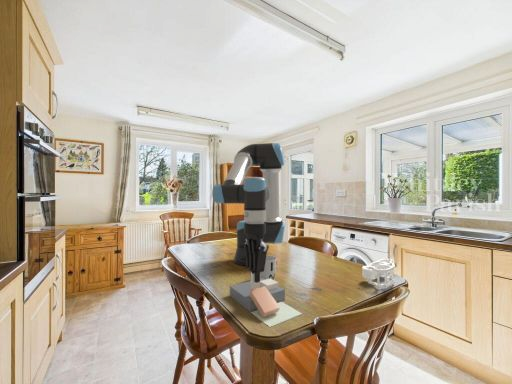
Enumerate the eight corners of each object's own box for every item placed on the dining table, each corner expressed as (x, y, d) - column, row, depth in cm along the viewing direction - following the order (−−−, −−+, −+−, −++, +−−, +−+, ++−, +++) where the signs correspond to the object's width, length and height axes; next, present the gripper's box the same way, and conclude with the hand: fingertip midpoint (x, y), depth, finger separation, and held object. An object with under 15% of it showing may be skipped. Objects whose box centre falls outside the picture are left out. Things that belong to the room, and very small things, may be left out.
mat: (250, 313, 76) (250, 312, 76) (281, 302, 84) (281, 301, 84) (269, 328, 68) (269, 326, 68) (301, 314, 75) (301, 313, 75)
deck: (230, 296, 88) (229, 286, 88) (262, 287, 97) (262, 277, 97) (250, 312, 77) (250, 300, 77) (284, 300, 85) (284, 289, 85)
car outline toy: (379, 271, 115) (379, 256, 115) (404, 278, 107) (404, 262, 107) (357, 281, 103) (357, 264, 103) (383, 289, 95) (383, 271, 95)
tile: (249, 294, 79) (250, 290, 78) (263, 290, 82) (265, 286, 81) (262, 317, 72) (264, 312, 71) (278, 311, 76) (279, 307, 75)
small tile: (259, 286, 88) (259, 281, 88) (270, 283, 91) (270, 278, 91) (267, 291, 84) (267, 285, 84) (278, 287, 87) (278, 282, 87)
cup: (271, 285, 99) (271, 261, 99) (255, 281, 103) (254, 258, 103) (279, 279, 106) (279, 257, 106) (264, 275, 110) (264, 254, 110)
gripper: (236, 221, 84) (236, 286, 84) (256, 225, 73) (256, 300, 73) (253, 219, 89) (253, 282, 88) (275, 223, 78) (275, 294, 78)
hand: (255, 290), depth 81 cm, fingers closed
